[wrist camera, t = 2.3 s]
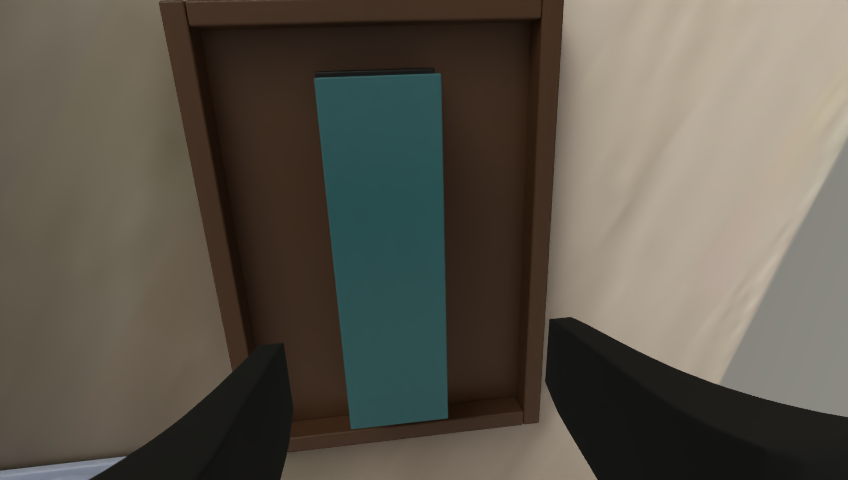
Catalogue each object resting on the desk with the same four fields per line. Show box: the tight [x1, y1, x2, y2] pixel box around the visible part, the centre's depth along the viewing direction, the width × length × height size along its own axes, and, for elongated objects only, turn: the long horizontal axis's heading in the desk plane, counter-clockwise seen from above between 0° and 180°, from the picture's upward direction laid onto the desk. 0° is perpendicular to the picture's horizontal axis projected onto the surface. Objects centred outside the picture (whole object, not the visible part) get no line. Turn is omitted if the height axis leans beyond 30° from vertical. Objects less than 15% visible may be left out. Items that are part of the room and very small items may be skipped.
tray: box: [159, 0, 564, 452], centre depth 20 cm, size 14×19×2 cm
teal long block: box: [314, 68, 448, 429], centre depth 18 cm, size 14×4×4 cm, turn 2°
